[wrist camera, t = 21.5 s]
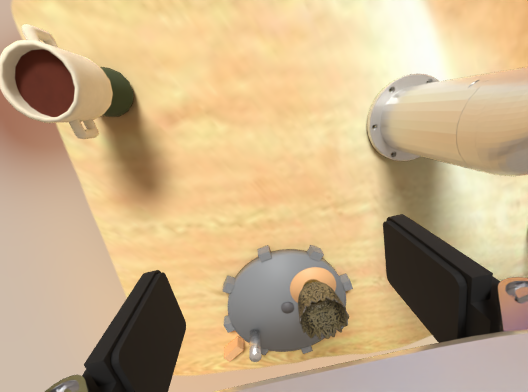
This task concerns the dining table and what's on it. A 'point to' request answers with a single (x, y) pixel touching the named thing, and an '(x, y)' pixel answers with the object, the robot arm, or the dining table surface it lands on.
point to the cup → (320, 310)
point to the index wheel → (277, 298)
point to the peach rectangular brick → (234, 348)
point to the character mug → (60, 84)
